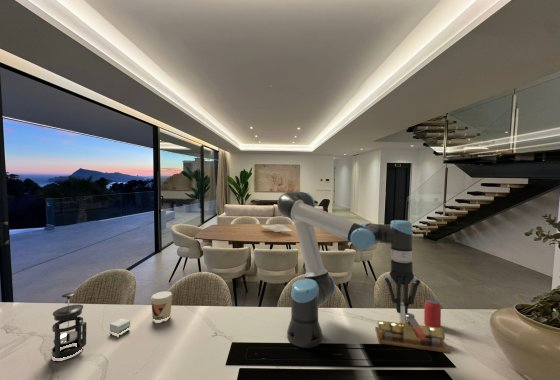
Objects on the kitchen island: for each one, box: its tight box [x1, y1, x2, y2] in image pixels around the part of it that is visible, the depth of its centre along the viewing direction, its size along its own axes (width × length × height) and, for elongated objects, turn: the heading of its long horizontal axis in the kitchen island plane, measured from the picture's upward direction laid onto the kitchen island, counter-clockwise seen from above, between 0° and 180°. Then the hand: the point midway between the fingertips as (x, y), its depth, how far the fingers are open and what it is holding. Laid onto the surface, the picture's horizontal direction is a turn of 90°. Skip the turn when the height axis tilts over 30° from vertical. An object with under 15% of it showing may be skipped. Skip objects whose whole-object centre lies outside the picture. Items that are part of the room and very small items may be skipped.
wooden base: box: [374, 318, 450, 354], centre depth 104 cm, size 26×10×9 cm, turn 77°
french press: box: [51, 292, 87, 358], centre depth 94 cm, size 12×9×23 cm
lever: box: [405, 312, 425, 339], centre depth 98 cm, size 16×4×2 cm, turn 167°
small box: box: [109, 317, 131, 334], centre depth 108 cm, size 6×6×5 cm
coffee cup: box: [150, 290, 173, 320], centre depth 119 cm, size 9×9×12 cm
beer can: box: [423, 297, 442, 328], centre depth 115 cm, size 7×7×12 cm
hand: (402, 321), depth 95 cm, fingers closed
